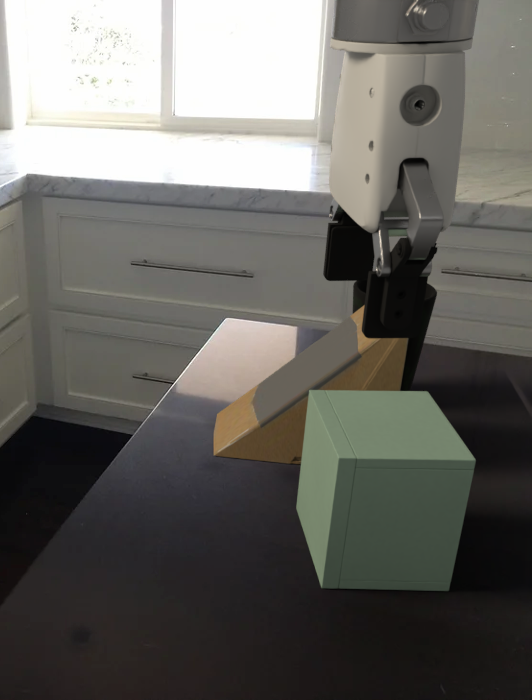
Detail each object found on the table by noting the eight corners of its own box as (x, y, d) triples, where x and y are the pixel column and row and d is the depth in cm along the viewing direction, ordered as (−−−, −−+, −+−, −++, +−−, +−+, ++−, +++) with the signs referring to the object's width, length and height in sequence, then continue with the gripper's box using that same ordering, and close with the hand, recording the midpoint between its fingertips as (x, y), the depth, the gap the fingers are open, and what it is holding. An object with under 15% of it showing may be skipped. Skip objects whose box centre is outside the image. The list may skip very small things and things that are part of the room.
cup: (425, 417, 85) (445, 303, 80) (345, 412, 86) (359, 300, 81) (409, 382, 92) (427, 275, 87) (335, 378, 93) (348, 273, 88)
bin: (407, 510, 71) (428, 390, 66) (449, 591, 62) (476, 459, 57) (295, 508, 72) (309, 389, 67) (321, 588, 62) (338, 457, 58)
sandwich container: (215, 412, 87) (224, 270, 80) (376, 425, 84) (398, 279, 78) (211, 456, 79) (220, 303, 73) (387, 472, 76) (412, 314, 70)
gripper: (542, 31, 40) (479, 363, 47) (419, 9, 56) (386, 261, 63) (378, 35, 41) (340, 364, 48) (301, 12, 56) (281, 262, 63)
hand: (366, 305), depth 55 cm, fingers open, 9 cm apart
